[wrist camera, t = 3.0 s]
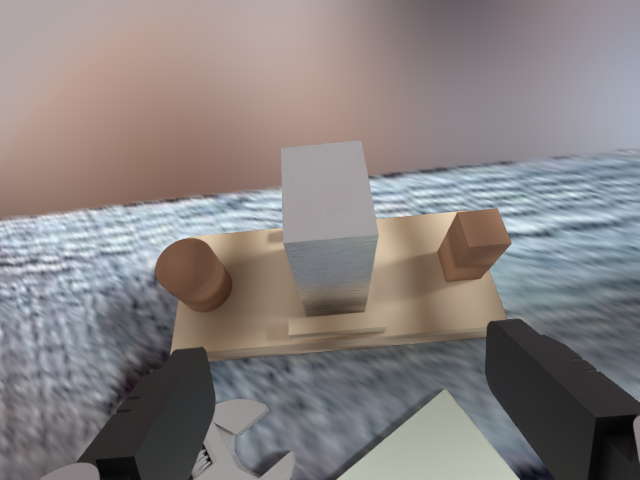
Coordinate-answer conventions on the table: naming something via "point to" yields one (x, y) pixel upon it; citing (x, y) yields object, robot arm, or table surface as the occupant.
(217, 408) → the adjustable wrench
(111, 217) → the table surface
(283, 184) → the grey block
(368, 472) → the mat
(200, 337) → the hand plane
